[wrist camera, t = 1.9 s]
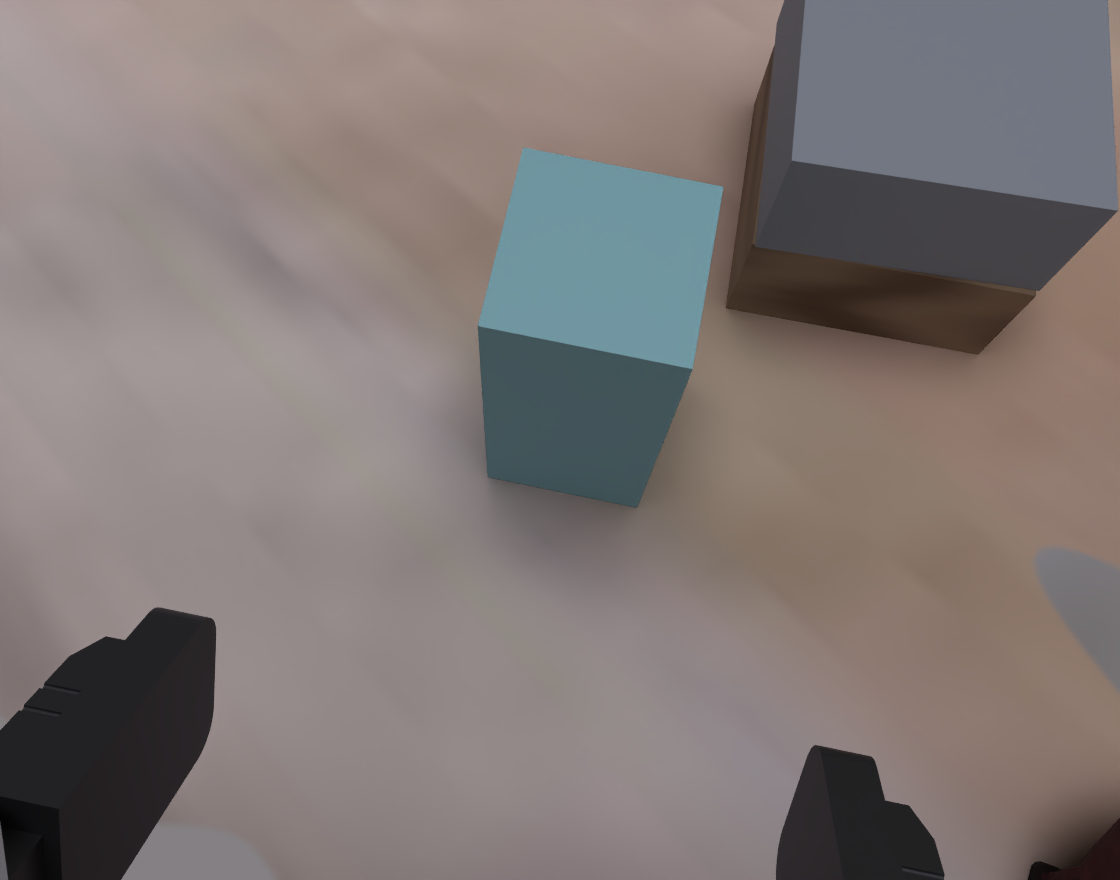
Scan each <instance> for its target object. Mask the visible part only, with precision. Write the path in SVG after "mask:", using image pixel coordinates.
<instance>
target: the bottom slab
mask: <svg viewBox="0 0 1120 880" xmlns="http://www.w3.org/2000/svg"><path fill="white" fill-rule="evenodd" d="M774 47H775V45H774ZM773 58H774V48H773V51H772V54H771V57H770V60H769V63H768V66H767V69H766V72H765V75H764V78H763V81H762V84H761V86H760V89H759V92H758V95H757V98H756V101H755V105H754V112H753V119H752V126H751V133H750V140H749V147H748V155H747V162H746V169H745V176H744V183H743V190H742V197H741V204H740V211H739V218H738V225H737V232H736V239H735V247H734V254H733V261H732V268H731V275H730V282H729V289H728V296H727V303H726V308H728V309H733V310H739V311H744V312H750V313H755V314H761V315H766V316H771V317H777V318H782V319H788V320H793V321H799V322H804V323H809V324H815V325H820V326H826V327H831V328H837V329H842V330H847V331H853V332H858V333H864V334H869V335H875V336H880V337H885V338H891V339H896V340H902V341H907V342H913V343H918V344H923V345H929V346H934V347H940V348H945V349H951V350H956V351H961V352H967V353H972V354H979V353H980V352H981V351H982V350H983V349H984V348H985V347H986V346H987V345H988V344H989V343H990V342H991V341H992V340H993V339H994V338H995V337H996V336H997V335H998V334H999V333H1000V332H1001V331H1002V330H1003V329H1004V328H1005V327H1006V326H1007V325H1008V324H1009V323H1010V322H1011V321H1012V320H1013V319H1014V318H1015V317H1016V316H1017V315H1018V313H1019V312H1020V311H1021V310H1022V309H1023V308H1024V307H1025V306H1026V305H1027V304H1028V303H1029V302H1030V301H1031V300H1032V299H1033V298H1034V297H1035V296H1036V290H1031V289H1024V288H1018V287H1011V286H1005V285H999V284H992V283H986V282H979V281H973V280H966V279H960V278H953V277H947V276H940V275H934V274H927V273H921V272H914V271H908V270H902V269H895V268H889V267H882V266H876V265H869V264H863V263H856V262H850V261H843V260H837V259H830V258H824V257H818V256H811V255H805V254H798V253H792V252H785V251H779V250H772V249H766V248H759V247H755V245H756V234H757V224H758V213H759V203H760V193H761V182H762V172H763V162H764V151H765V141H766V130H767V120H768V110H769V99H770V89H771V79H772V68H773Z"/></svg>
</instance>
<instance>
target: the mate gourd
mask: <svg viewBox="0 0 1120 880" xmlns="http://www.w3.org/2000/svg"><path fill="white" fill-rule="evenodd" d="M1028 880H1120V818H1119V819H1118V820H1117V821H1116V823H1115V824H1114V825H1113V826H1112V827H1111V828H1110V829H1109V830H1108V831H1107V832H1106V834H1105V835H1104V836H1103V837H1102V838H1101V839H1100V840H1099V841H1098V842H1097V843H1096V845H1095V846H1094V847H1093V848H1092V849H1091V851H1090V852H1089V853H1088V854H1087V856H1086V857H1085V858H1084V860H1083V861H1082V862H1081V864H1080V865H1077V866H1072V867H1068V868H1065V869H1062V870H1061V869H1059V868H1057V867H1055V866H1052V865H1049V864H1046V863H1043V862H1035V863H1034V864H1033V865H1032V866H1031V870H1030V874H1029V878H1028Z"/></svg>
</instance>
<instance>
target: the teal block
mask: <svg viewBox="0 0 1120 880" xmlns="http://www.w3.org/2000/svg"><path fill="white" fill-rule="evenodd" d="M722 193H723V187H722V186H717V185H712V184H707V183H702V182H697V181H691V180H686V179H681V178H676V177H671V176H666V175H661V174H656V173H651V172H646V171H640V170H635V169H630V168H625V167H620V166H615V165H610V164H605V163H600V162H594V161H589V160H584V159H579V158H574V157H569V156H564V155H559V154H554V153H549V152H543V151H538V150H533V149H528V148H523V151H522V155H521V159H520V163H519V167H518V171H517V175H516V179H515V182H514V186H513V190H512V194H511V198H510V202H509V206H508V210H507V214H506V218H505V222H504V226H503V229H502V233H501V237H500V241H499V245H498V249H497V253H496V257H495V261H494V265H493V269H492V273H491V276H490V280H489V284H488V288H487V292H486V296H485V300H484V304H483V308H482V312H481V316H480V320H479V324H478V336H479V351H480V366H481V382H482V397H483V412H484V428H485V443H486V459H487V474H488V477H490V478H495V479H500V480H505V481H509V482H514V483H519V484H524V485H529V486H534V487H539V488H544V489H548V490H553V491H558V492H563V493H568V494H573V495H578V496H583V497H587V498H592V499H597V500H602V501H607V502H612V503H617V504H622V505H626V506H631V507H636V508H637V506H638V504H639V501H640V499H641V496H642V494H643V491H644V489H645V486H646V484H647V481H648V479H649V476H650V474H651V472H652V469H653V467H654V464H655V462H656V459H657V457H658V454H659V452H660V449H661V447H662V444H663V442H664V439H665V437H666V434H667V432H668V429H669V427H670V424H671V422H672V419H673V417H674V414H675V412H676V409H677V407H678V404H679V402H680V399H681V397H682V394H683V392H684V389H685V387H686V384H687V382H688V379H689V377H690V374H691V372H692V369H693V364H694V358H695V352H696V346H697V340H698V334H699V328H700V322H701V316H702V311H703V305H704V299H705V293H706V287H707V281H708V275H709V269H710V263H711V257H712V252H713V246H714V240H715V234H716V228H717V222H718V216H719V210H720V204H721V198H722Z"/></svg>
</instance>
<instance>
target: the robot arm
mask: <svg viewBox="0 0 1120 880" xmlns="http://www.w3.org/2000/svg"><path fill="white" fill-rule="evenodd" d="M215 652H216V626H215V622H214V620H213V619H212V618H208V617H203V616H198V615H193V614H189V613H184V612H179V611H174V610H169V609H164V608H159V607H157V608H154V609H153V610H151V611H150V612H149V613H148V614H147V616H146V617H145V618H144V619H143V620H142V621H141V622H140V624H139V625H138V626H137V627H136V628H135V629H134V631H133V632H132V633H131V634H130V635H129V636H128V637H127V639H126V640H121V639H116V638H111V637H104V638H102V639H100V640H99V641H97V642H95V643H93V644H91V645H89V646H87V647H86V648H84V649H82V650H80V651H78V652H76V653H75V654H73V655H71V656H69V657H68V658H67V659H66V660H65V661H64V663H63V664H62V665H61V666H60V667H59V668H58V669H57V670H56V671H55V672H54V673H53V674H52V675H51V676H50V678H49V679H48V680H47V681H46V682H45V683H44V687H43V689H41V688H39V689H38V690H37V692H36V693H35V694H34V695H33V696H32V697H31V698H30V699H29V700H28V701H27V702H26V703H25V704H24V708H23V710H22V711H18V712H17V713H16V714H15V715H14V716H13V717H12V718H11V719H10V721H9V722H8V723H7V724H6V725H5V726H4V727H3V728H2V729H1V730H0V880H121V879H122V877H123V875H124V874H125V873H126V871H127V869H128V868H129V866H130V865H131V863H132V862H133V860H134V858H135V857H136V855H137V854H138V852H139V851H140V849H141V847H142V846H143V844H144V843H145V841H146V839H147V838H148V836H149V835H150V833H151V832H152V830H153V829H154V827H155V825H156V824H157V822H158V821H159V819H160V818H161V816H162V815H163V813H164V811H165V810H166V808H167V807H168V805H169V804H170V802H171V800H172V799H173V797H174V796H175V794H176V793H177V791H178V789H179V788H180V786H181V785H182V783H183V782H184V780H185V778H186V777H187V775H188V774H189V772H190V771H191V769H192V767H193V766H194V764H195V763H196V761H197V760H198V758H199V756H200V754H201V752H202V750H203V748H204V746H205V743H206V740H207V738H208V734H209V731H210V727H211V723H212V718H213V710H214V683H215ZM944 875H945V874H944V871H943V868H942V864H941V861H940V857H939V854H938V851H937V847H936V844H935V840H934V839H933V837H932V836H931V835H930V833H929V832H928V830H927V829H926V828H925V826H924V825H923V824H922V822H921V821H920V820H919V818H918V817H917V816H916V814H915V813H914V812H913V810H912V809H911V808H910V806H908V805H903V804H899V803H894V802H889V801H885V798H884V794H883V790H882V786H881V782H880V778H879V774H878V770H877V766H876V763H875V761H874V759H873V758H872V757H870V756H866V755H861V754H856V753H852V752H847V751H842V750H837V749H832V748H827V747H823V746H818V745H815V746H813V747H812V748H811V750H810V752H809V754H808V756H807V759H806V762H805V765H804V768H803V771H802V774H801V776H800V779H799V782H798V785H797V788H796V791H795V794H794V797H793V800H792V803H791V806H790V809H789V812H788V815H787V818H786V821H785V824H784V827H783V830H782V833H781V837H780V842H779V847H778V854H777V865H776V880H944Z"/></svg>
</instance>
